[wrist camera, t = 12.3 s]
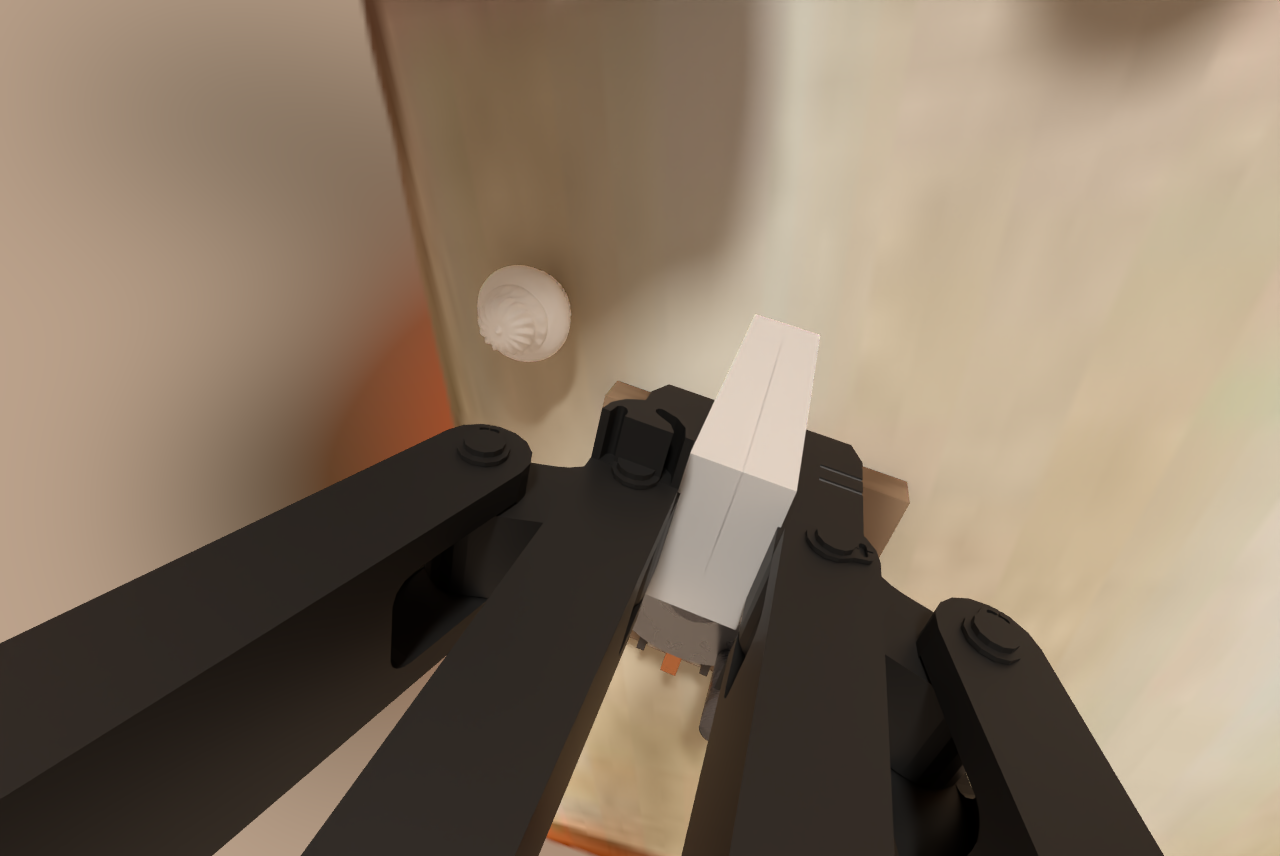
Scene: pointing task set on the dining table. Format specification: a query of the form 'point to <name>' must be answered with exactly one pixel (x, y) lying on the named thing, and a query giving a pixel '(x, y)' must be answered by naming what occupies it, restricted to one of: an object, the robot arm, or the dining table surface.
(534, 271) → the muffin
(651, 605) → the capstan
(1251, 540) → the dining table surface
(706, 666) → the stand
